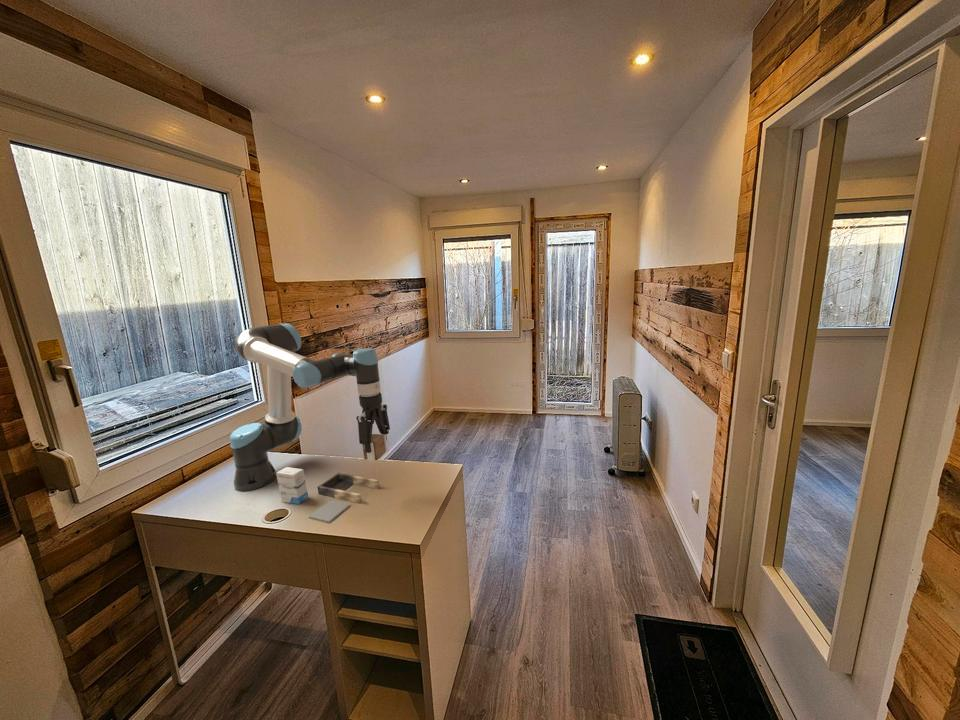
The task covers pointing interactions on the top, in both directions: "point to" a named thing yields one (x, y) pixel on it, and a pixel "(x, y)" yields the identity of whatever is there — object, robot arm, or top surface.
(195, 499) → the top surface
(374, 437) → the walnut block
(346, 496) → the channel
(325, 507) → the slate pad
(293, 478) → the ink box
